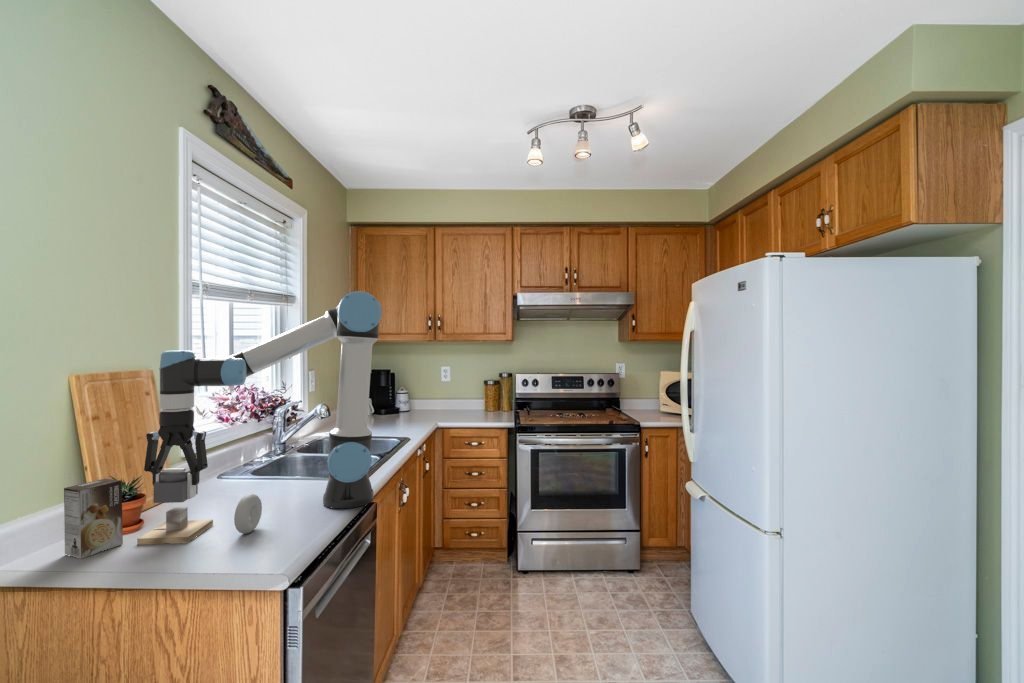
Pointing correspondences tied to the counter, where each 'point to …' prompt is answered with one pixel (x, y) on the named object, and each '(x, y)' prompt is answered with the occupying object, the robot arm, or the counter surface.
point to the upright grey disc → (248, 513)
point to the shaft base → (175, 534)
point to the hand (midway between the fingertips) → (176, 497)
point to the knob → (172, 486)
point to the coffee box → (93, 517)
